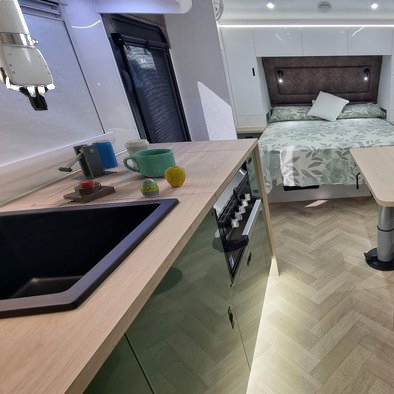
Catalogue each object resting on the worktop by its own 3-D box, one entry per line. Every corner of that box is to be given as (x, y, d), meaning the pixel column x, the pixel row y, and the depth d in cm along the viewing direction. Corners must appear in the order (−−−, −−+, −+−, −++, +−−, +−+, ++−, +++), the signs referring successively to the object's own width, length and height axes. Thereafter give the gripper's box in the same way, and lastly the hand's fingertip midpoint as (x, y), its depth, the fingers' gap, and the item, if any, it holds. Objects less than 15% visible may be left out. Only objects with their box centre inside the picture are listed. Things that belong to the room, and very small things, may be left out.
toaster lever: (72, 173, 104) (66, 168, 102) (62, 172, 105) (55, 168, 103) (96, 150, 111) (90, 145, 109) (86, 149, 112) (80, 145, 110)
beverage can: (103, 167, 127) (94, 140, 122) (121, 166, 129) (112, 139, 124) (97, 171, 121) (87, 143, 117) (116, 170, 123) (106, 142, 119)
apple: (171, 190, 99) (166, 168, 96) (165, 186, 103) (159, 164, 100) (191, 185, 104) (186, 164, 101) (184, 182, 107) (179, 161, 104)
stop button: (86, 188, 91) (84, 183, 90) (77, 187, 92) (75, 182, 91) (97, 185, 94) (95, 179, 94) (89, 184, 95) (87, 179, 94)
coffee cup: (130, 172, 120) (121, 143, 115) (133, 167, 127) (125, 140, 122) (154, 169, 124) (147, 141, 119) (156, 164, 131) (148, 138, 126)
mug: (179, 169, 123) (173, 147, 120) (176, 177, 113) (170, 153, 109) (132, 174, 117) (125, 151, 113) (125, 183, 106) (117, 158, 103)
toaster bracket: (89, 183, 108) (77, 149, 103) (71, 181, 110) (58, 148, 105) (118, 174, 117) (108, 143, 113) (101, 173, 120) (90, 142, 115)
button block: (84, 204, 89) (79, 191, 88) (65, 201, 91) (60, 189, 89) (116, 192, 98) (112, 181, 97) (98, 190, 100) (94, 179, 98)
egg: (143, 200, 91) (137, 182, 89) (142, 195, 95) (137, 178, 93) (161, 196, 94) (156, 179, 92) (159, 192, 98) (155, 175, 95)
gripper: (37, 45, 88) (60, 108, 95) (-34, 39, 75) (0, 112, 82) (55, 44, 86) (77, 108, 93) (-14, 37, 73) (18, 113, 80)
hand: (41, 110), depth 87 cm, fingers closed
